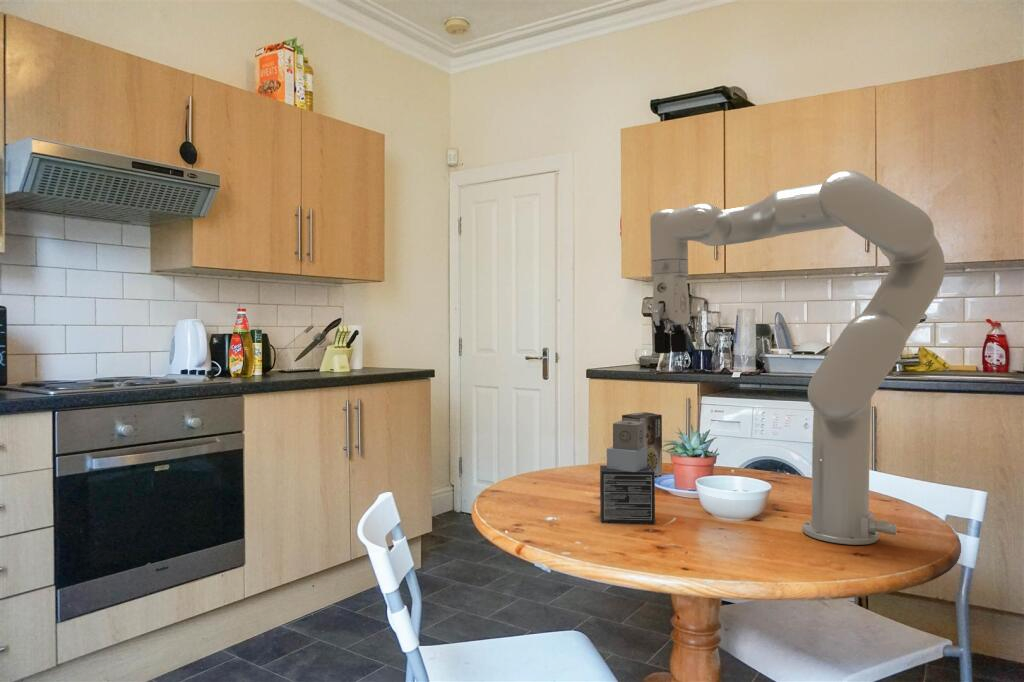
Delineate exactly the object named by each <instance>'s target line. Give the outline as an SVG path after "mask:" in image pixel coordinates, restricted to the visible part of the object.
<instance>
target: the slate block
mask: <svg viewBox="0 0 1024 682" xmlns="http://www.w3.org/2000/svg"><path fill="white" fill-rule="evenodd" d="M606 465H607V469H614V470H622V471H629V472H637V471H639V470H641V469H643V468H646V467H647V447H643V448H641V449H640V450H638V451H635V450H623V449H613V446H611V447H607V448H606Z"/></svg>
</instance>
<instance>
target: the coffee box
mask: <svg viewBox="0 0 1024 682" xmlns="http://www.w3.org/2000/svg"><path fill="white" fill-rule="evenodd" d="M662 417H663V415H662V414H657V413H653V412H642V411H641V412H636V413H627V414H622V415H621V421H634V422H644V447H647V466H651V467H652V468H653V470H654V471H655V476H657V477H660V476H659V475H663V457H662V456H663V432H662V431H663V418H662Z"/></svg>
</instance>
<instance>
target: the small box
mask: <svg viewBox="0 0 1024 682" xmlns="http://www.w3.org/2000/svg"><path fill="white" fill-rule="evenodd" d="M599 467H600V468H599V469H600V470H599V474H600V475H599V481H600V482H599V495H600V496H599V499H600V500H599V501H600V505H599V507H600V509H599V511H600V514H599V515H600V522H601V524H619V525H620V524H622V525H623V524H626V525H627V524H629V525H655V524H656V522H657V521H656V492H655V491H656V486H655V485H656V480H655V479H656V477H655V471H654V470H653V468H652V467H651V466H647V467H646V468H643V469H641V470H639V471H637V472H629V471H622V470H614V469H607V464H606V465H602V464H601V465H600V466H599Z"/></svg>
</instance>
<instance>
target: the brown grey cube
mask: <svg viewBox="0 0 1024 682" xmlns="http://www.w3.org/2000/svg"><path fill="white" fill-rule="evenodd" d="M612 447H613V449H623V450H635V451H638V450H640V449H641V448H643V447H644V422H634V421H622V420H618V421H615V422H613V423H612Z"/></svg>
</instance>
